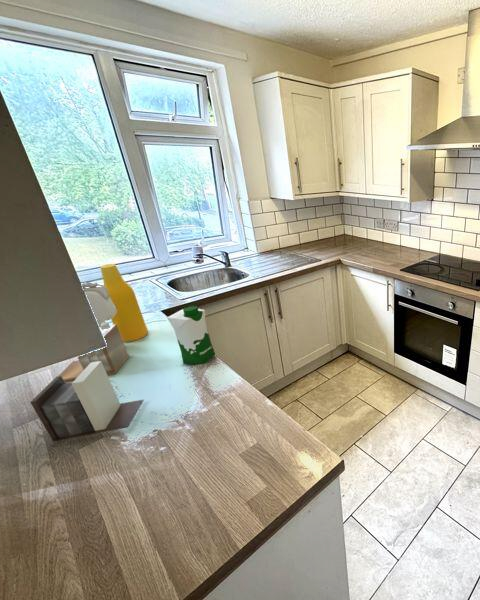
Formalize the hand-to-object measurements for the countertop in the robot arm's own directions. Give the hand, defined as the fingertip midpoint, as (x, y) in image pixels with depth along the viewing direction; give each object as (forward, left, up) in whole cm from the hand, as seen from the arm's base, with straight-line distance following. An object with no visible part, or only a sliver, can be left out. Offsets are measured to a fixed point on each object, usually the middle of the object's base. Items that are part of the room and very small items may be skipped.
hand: (72, 340), depth 78 cm
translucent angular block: (-16, +29, -25) cm, 41 cm away
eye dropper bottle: (-15, +41, -25) cm, 50 cm away
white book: (0, 0, -24) cm, 24 cm away
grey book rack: (-2, 0, -25) cm, 25 cm away
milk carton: (+16, +25, -25) cm, 39 cm away
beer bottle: (-12, +50, -25) cm, 57 cm away
